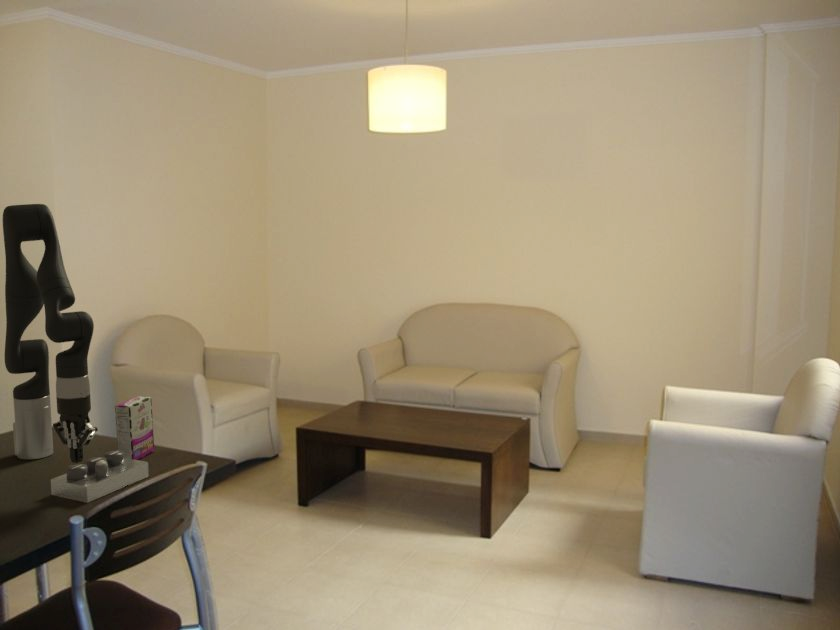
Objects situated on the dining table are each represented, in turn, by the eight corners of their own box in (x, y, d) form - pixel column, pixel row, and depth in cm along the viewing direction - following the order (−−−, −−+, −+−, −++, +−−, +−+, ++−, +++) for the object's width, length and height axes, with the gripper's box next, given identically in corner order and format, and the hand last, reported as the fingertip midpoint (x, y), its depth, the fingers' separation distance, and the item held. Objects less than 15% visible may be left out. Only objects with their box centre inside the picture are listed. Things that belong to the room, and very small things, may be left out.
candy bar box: (139, 450, 220) (137, 395, 218) (154, 451, 219) (152, 396, 217) (116, 462, 209) (114, 405, 207) (133, 463, 208) (130, 406, 206)
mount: (51, 494, 185) (50, 479, 184) (114, 470, 203) (113, 455, 203) (87, 502, 180) (86, 486, 180) (148, 476, 198) (148, 461, 198)
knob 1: (63, 492, 185) (61, 468, 185) (78, 485, 190) (77, 462, 189) (77, 495, 184) (76, 471, 183) (93, 488, 188) (91, 465, 187)
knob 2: (82, 484, 191) (81, 460, 190) (97, 478, 195) (96, 455, 194) (96, 487, 189) (95, 463, 188) (111, 481, 193) (110, 458, 193)
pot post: (92, 477, 186) (92, 463, 186) (102, 473, 189) (101, 459, 188) (101, 478, 185) (101, 465, 185) (111, 475, 188) (110, 461, 187)
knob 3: (101, 476, 196) (100, 454, 196) (115, 471, 201) (114, 448, 200) (115, 479, 194) (114, 456, 194) (129, 473, 199) (128, 451, 198)
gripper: (40, 393, 183) (44, 462, 185) (80, 400, 177) (84, 470, 180) (66, 387, 189) (69, 453, 192) (105, 393, 184) (108, 461, 187)
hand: (76, 461), depth 186 cm, fingers closed
